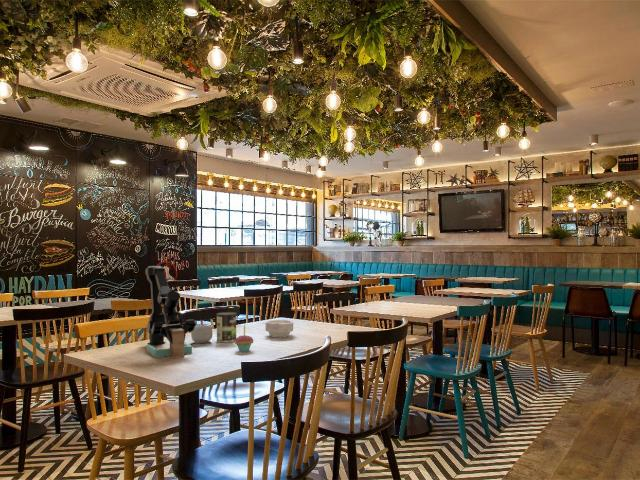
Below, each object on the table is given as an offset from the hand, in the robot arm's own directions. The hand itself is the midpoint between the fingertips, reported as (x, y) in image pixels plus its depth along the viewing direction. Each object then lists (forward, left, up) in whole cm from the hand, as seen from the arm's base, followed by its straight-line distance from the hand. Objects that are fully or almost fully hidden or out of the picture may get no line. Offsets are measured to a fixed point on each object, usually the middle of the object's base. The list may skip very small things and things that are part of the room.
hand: (177, 342), depth 210 cm
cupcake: (+19, +24, -7) cm, 31 cm away
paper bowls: (+15, +63, -7) cm, 65 cm away
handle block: (-1, +1, -7) cm, 7 cm away
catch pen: (-12, +7, -7) cm, 15 cm away
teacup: (-13, +33, -7) cm, 36 cm away
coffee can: (-4, +41, -7) cm, 41 cm away
